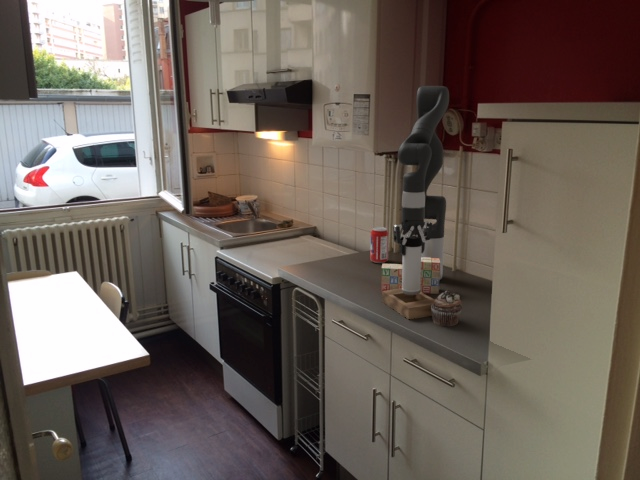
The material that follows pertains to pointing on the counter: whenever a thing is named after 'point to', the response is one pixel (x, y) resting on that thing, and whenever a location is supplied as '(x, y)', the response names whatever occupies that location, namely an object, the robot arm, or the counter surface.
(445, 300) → the cupcake
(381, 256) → the soda can
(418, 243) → the travel mug
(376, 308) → the counter surface
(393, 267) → the stack of blocks
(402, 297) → the holder board
